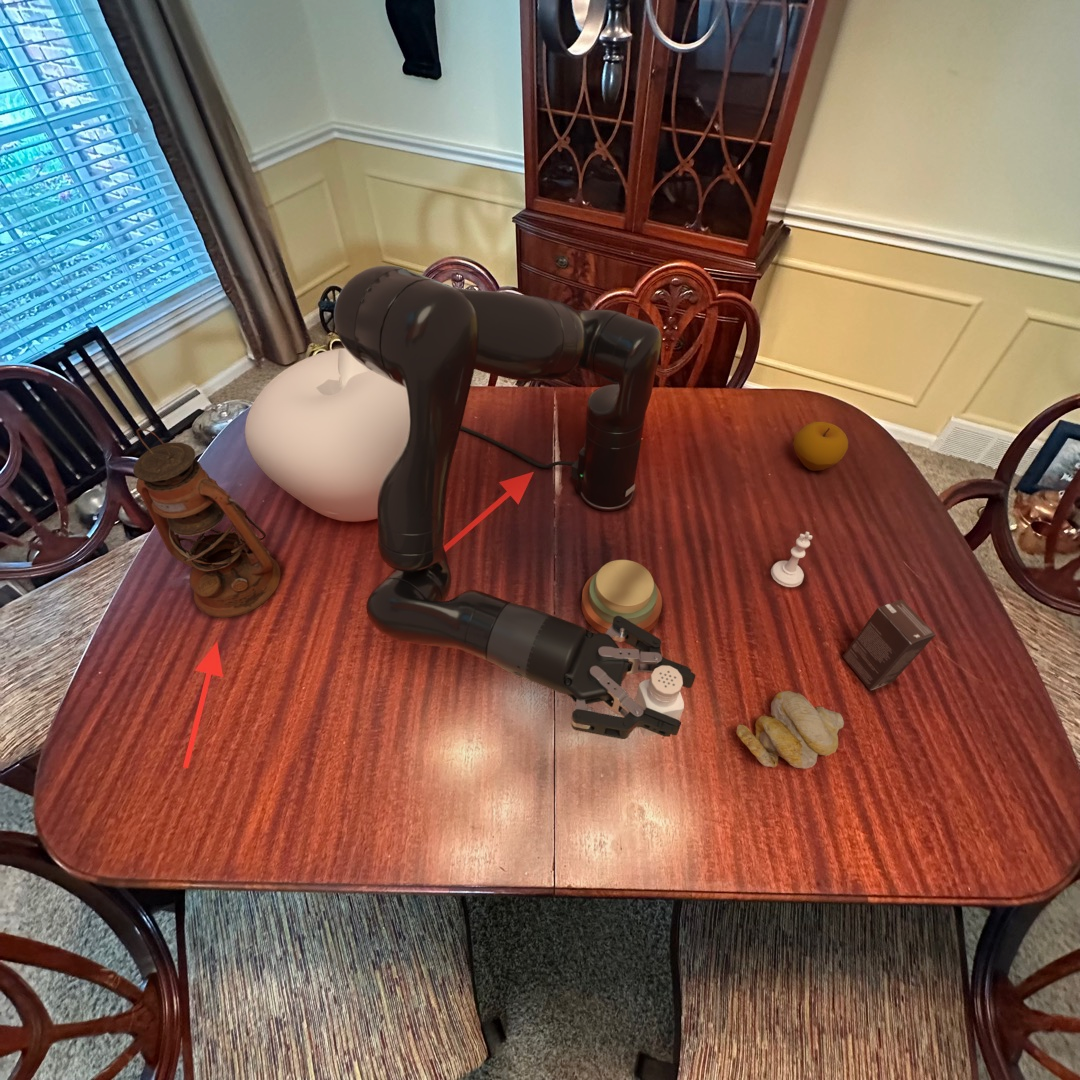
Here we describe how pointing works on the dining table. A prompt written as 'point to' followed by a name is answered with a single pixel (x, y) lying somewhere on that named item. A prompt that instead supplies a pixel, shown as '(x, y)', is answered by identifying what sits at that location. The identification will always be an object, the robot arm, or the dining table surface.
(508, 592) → the dining table surface
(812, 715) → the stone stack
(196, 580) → the lantern
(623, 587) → the ring stack
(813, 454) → the apple
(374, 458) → the pale giant fruit
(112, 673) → the dining table surface
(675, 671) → the pepper shaker
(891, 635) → the box
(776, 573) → the chess piece
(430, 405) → the robot arm
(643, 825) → the dining table surface
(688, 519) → the dining table surface
